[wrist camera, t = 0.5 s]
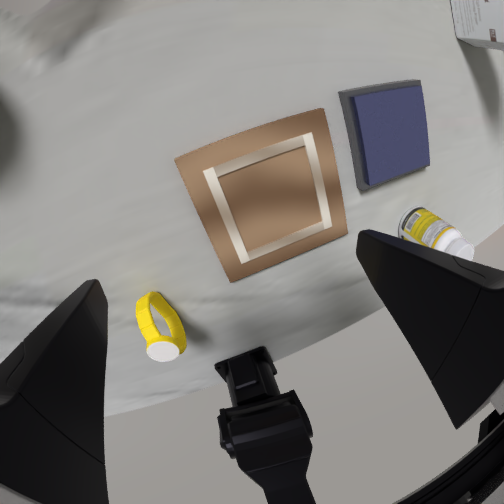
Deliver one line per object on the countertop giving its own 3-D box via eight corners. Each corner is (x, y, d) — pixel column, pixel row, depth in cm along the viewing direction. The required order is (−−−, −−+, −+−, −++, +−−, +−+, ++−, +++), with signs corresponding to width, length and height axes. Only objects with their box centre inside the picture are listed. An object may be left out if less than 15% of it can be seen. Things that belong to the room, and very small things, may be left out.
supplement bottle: (422, 237, 30) (469, 275, 23) (394, 246, 30) (442, 289, 23) (428, 201, 28) (481, 236, 21) (399, 208, 27) (454, 247, 20)
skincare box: (447, -5, 15) (533, -5, 4) (468, 7, 15) (547, 13, 5) (455, 40, 18) (545, 52, 8) (475, 49, 18) (556, 64, 8)
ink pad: (423, 162, 25) (432, 167, 24) (357, 187, 25) (366, 192, 23) (413, 79, 20) (423, 80, 19) (338, 91, 20) (347, 92, 18)
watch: (189, 315, 28) (197, 363, 23) (167, 326, 28) (172, 374, 23) (154, 277, 24) (155, 327, 20) (130, 290, 24) (127, 341, 20)
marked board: (345, 230, 27) (349, 234, 26) (229, 278, 26) (230, 284, 26) (320, 107, 20) (324, 108, 20) (174, 158, 20) (174, 161, 19)
